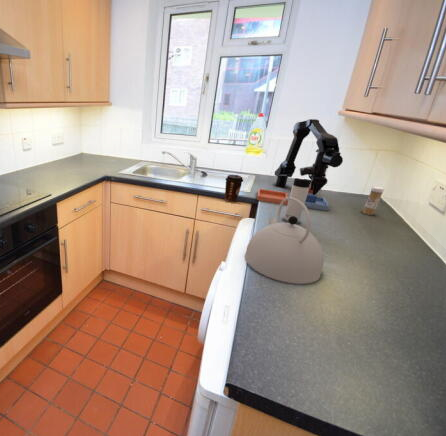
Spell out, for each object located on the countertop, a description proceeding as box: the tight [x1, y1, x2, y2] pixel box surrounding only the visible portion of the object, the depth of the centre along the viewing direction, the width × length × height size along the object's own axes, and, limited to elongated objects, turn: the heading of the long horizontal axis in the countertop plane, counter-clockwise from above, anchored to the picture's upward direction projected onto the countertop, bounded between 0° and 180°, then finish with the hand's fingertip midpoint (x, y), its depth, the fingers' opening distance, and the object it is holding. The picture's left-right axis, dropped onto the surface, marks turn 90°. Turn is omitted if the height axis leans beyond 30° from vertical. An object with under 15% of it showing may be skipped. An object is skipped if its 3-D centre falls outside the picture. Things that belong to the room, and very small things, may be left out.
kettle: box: [244, 196, 325, 285], centre depth 96 cm, size 25×23×22 cm
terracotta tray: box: [256, 188, 289, 206], centre depth 162 cm, size 15×15×2 cm
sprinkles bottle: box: [362, 185, 385, 216], centre depth 142 cm, size 5×5×14 cm
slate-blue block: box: [305, 193, 318, 203], centre depth 155 cm, size 4×4×4 cm
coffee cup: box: [224, 174, 244, 203], centre depth 156 cm, size 9×8×13 cm
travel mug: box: [283, 177, 311, 225], centre depth 130 cm, size 6×7×20 cm
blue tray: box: [304, 196, 330, 211], centre depth 156 cm, size 15×15×2 cm
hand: (312, 192), depth 154 cm, fingers open, 9 cm apart
